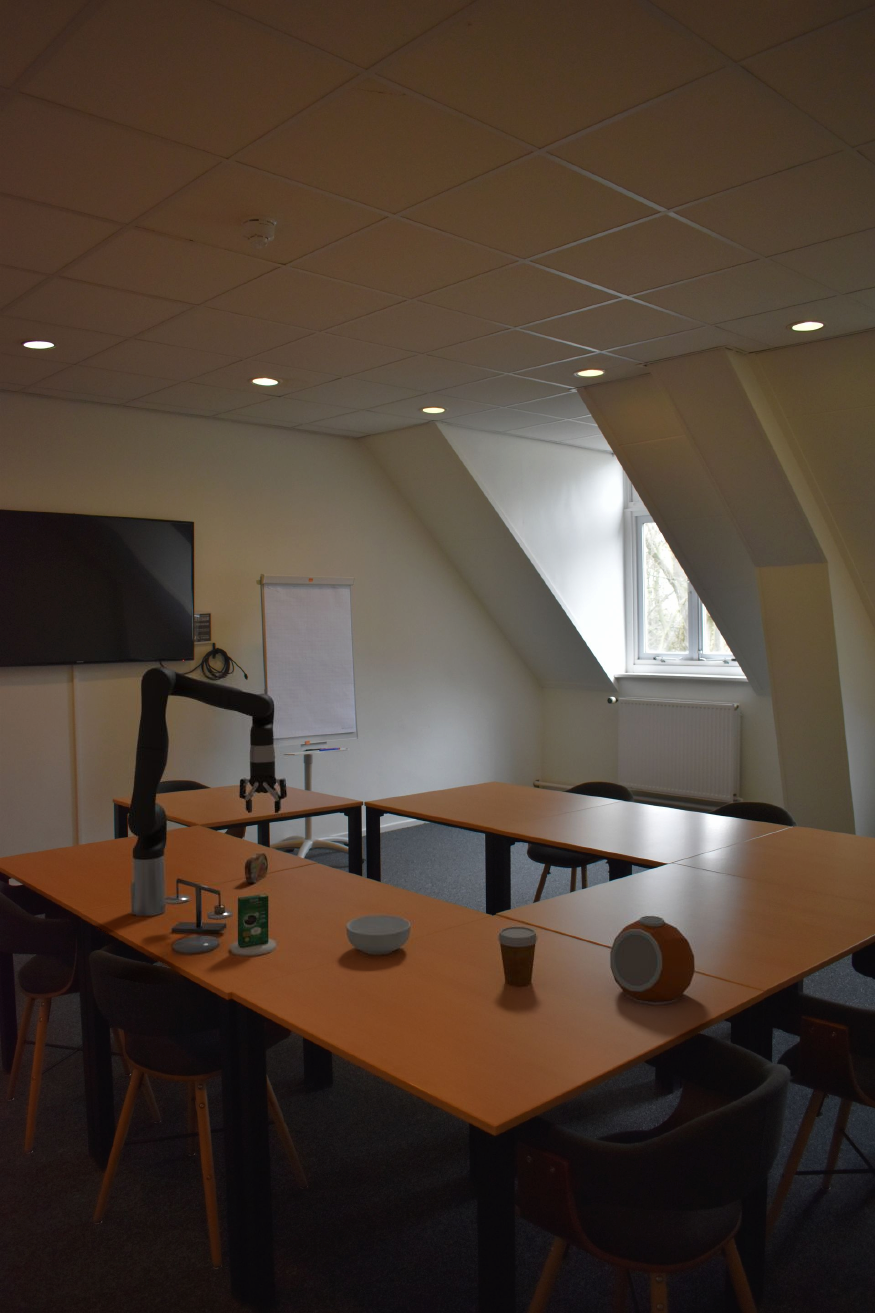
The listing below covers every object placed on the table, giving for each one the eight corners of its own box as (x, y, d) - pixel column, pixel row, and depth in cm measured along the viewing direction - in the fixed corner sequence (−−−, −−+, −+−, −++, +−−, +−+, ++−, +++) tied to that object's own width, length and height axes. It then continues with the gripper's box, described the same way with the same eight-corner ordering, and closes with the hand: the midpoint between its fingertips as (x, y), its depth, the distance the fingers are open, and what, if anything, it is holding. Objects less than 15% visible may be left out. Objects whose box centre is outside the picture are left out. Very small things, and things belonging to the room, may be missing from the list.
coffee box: (266, 940, 256) (265, 892, 255) (269, 943, 253) (268, 895, 253) (237, 945, 251) (236, 897, 251) (240, 948, 249) (239, 899, 249)
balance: (161, 932, 267) (160, 881, 266) (171, 925, 274) (170, 874, 273) (227, 934, 264) (226, 882, 264) (236, 927, 271) (235, 876, 271)
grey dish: (166, 953, 249) (165, 949, 249) (184, 938, 261) (184, 935, 261) (209, 955, 248) (209, 951, 248) (225, 940, 259) (225, 936, 259)
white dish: (223, 955, 247) (223, 951, 247) (239, 940, 259) (239, 937, 259) (267, 957, 245) (267, 953, 245) (281, 942, 257) (281, 938, 257)
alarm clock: (595, 993, 217) (594, 919, 217) (637, 973, 229) (637, 903, 229) (668, 1016, 203) (667, 937, 203) (709, 994, 216) (708, 919, 215)
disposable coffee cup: (513, 971, 232) (512, 923, 231) (545, 980, 226) (545, 930, 225) (490, 983, 224) (489, 933, 224) (523, 992, 218) (522, 941, 218)
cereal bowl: (353, 964, 239) (352, 936, 239) (341, 944, 255) (341, 918, 255) (417, 957, 243) (417, 930, 243) (402, 937, 259) (402, 912, 259)
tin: (252, 886, 316) (251, 861, 316) (243, 885, 317) (242, 860, 316) (268, 874, 331) (268, 850, 330) (260, 874, 331) (260, 850, 331)
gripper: (235, 761, 283) (236, 814, 283) (281, 761, 281) (282, 815, 281) (244, 757, 290) (245, 810, 291) (288, 758, 288) (289, 810, 289)
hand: (263, 812), depth 286 cm, fingers open, 8 cm apart
